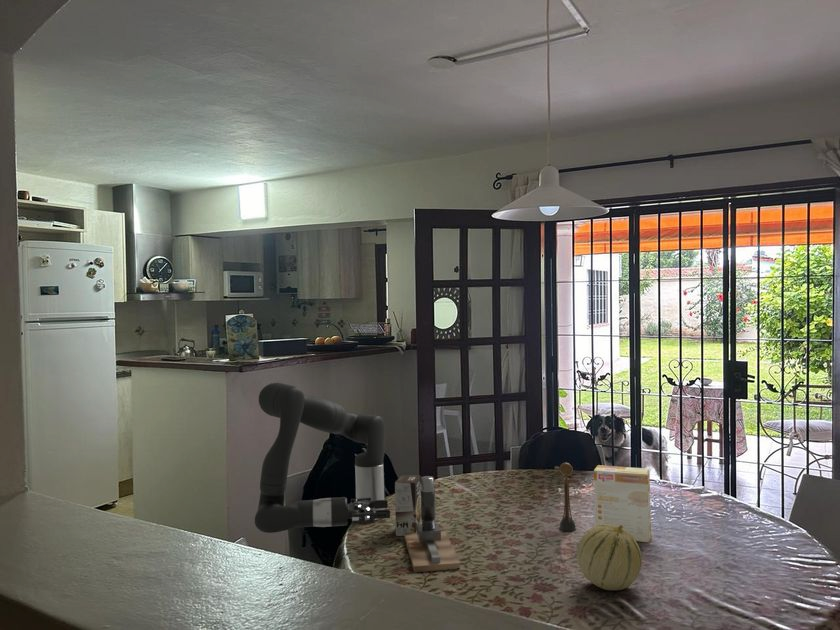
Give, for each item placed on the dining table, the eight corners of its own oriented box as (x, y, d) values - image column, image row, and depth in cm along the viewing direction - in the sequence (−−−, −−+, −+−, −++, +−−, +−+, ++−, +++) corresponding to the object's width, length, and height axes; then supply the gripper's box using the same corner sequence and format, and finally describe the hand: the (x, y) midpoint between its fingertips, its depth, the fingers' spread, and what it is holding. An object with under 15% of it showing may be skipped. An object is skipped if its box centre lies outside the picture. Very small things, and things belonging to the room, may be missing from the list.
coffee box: (416, 537, 184) (415, 482, 184) (395, 536, 186) (393, 482, 186) (422, 526, 193) (421, 474, 193) (402, 525, 195) (400, 474, 195)
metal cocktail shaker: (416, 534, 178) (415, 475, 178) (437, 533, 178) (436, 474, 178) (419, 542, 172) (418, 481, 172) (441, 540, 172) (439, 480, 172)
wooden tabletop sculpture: (554, 529, 188) (552, 463, 188) (558, 524, 192) (556, 459, 192) (573, 532, 185) (572, 465, 185) (577, 527, 189) (576, 461, 189)
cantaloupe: (569, 576, 155) (568, 515, 155) (626, 572, 156) (625, 512, 156) (590, 603, 140) (589, 537, 140) (653, 599, 142) (652, 533, 141)
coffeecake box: (651, 535, 181) (650, 468, 181) (649, 543, 175) (647, 474, 175) (598, 528, 188) (597, 464, 188) (594, 536, 181) (593, 469, 181)
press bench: (404, 538, 183) (404, 528, 183) (444, 535, 185) (444, 525, 185) (414, 572, 160) (413, 560, 160) (460, 568, 161) (459, 557, 161)
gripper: (329, 506, 165) (390, 502, 167) (330, 491, 179) (386, 487, 181) (330, 534, 165) (391, 530, 167) (330, 517, 179) (387, 513, 181)
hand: (388, 508), depth 174 cm, fingers open, 8 cm apart
